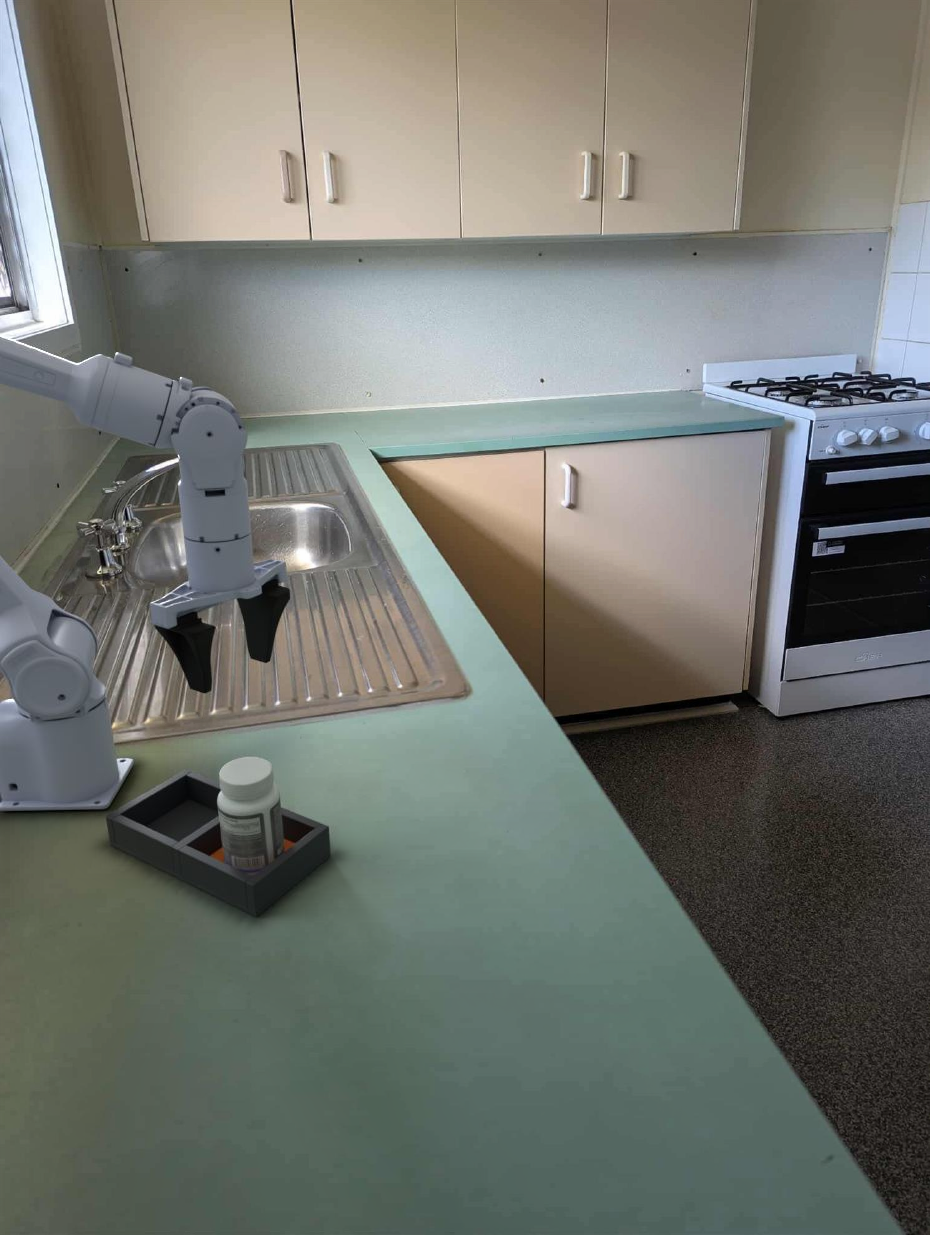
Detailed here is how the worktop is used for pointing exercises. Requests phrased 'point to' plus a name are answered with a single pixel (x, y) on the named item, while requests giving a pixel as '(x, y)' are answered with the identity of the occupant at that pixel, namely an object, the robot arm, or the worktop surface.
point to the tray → (211, 843)
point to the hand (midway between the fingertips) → (231, 674)
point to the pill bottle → (250, 814)
